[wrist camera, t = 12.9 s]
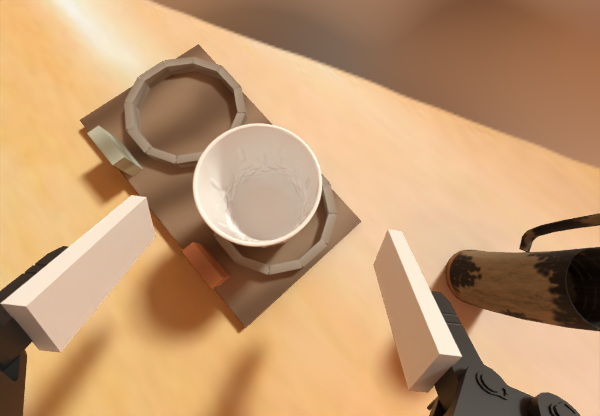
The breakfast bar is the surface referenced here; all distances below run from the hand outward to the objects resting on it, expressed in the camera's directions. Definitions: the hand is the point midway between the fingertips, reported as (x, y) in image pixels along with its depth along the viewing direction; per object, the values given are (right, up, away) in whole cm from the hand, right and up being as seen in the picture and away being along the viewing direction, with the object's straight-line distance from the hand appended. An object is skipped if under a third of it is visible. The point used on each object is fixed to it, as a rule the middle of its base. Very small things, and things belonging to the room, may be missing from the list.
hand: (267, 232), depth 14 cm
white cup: (-1, +1, +11) cm, 11 cm away
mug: (+20, -5, +12) cm, 24 cm away
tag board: (-7, +5, +13) cm, 15 cm away
